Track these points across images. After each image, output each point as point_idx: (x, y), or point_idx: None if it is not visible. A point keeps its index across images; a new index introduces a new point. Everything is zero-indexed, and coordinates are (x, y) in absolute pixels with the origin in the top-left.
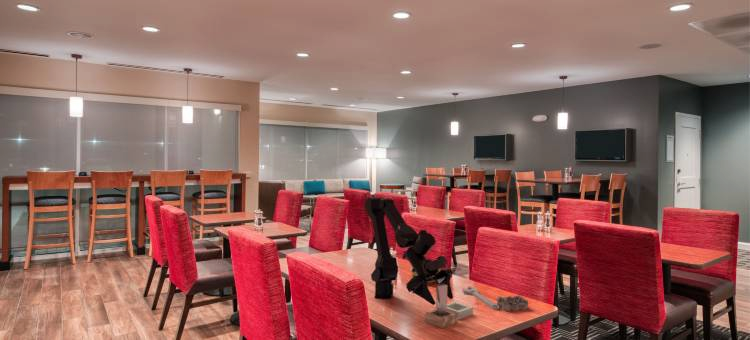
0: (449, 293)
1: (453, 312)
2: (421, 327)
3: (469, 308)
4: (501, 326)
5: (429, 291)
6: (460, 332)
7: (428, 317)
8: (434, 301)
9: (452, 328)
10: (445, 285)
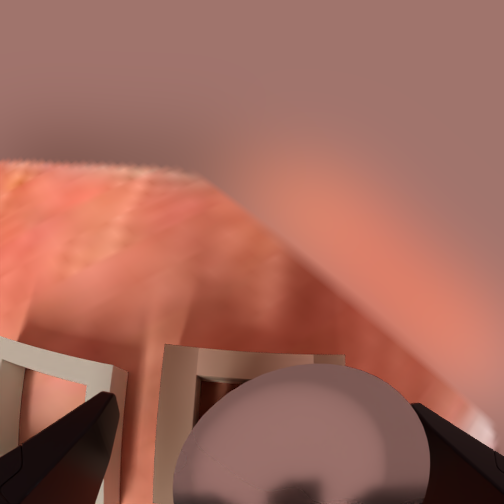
0: (95, 438)
1: (167, 377)
2: None
3: (15, 342)
4: (92, 179)
5: (488, 477)
6: (292, 264)
7: None
8: (421, 411)
9: (279, 324)
10: (286, 410)
